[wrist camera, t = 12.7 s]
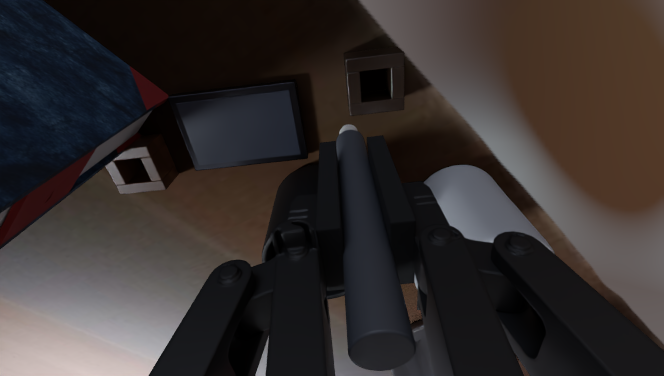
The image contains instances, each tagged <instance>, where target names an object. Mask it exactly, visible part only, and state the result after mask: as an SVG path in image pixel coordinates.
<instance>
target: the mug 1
mask: <svg viewBox="0 0 664 376" xmlns="http://www.w3.org/2000/svg"><path fill="white" fill-rule="evenodd" d="M318 171H319V164H318V165H310V166H305V167H303V168H300V169H298V170H296V171H294V172H293V173H291V174H290V175H288V176H287V177H286V178H285V179H284V180H283V182H282V183H281V185H280V186H279V188H278V191H277V194H276V198H275V202H274V206H273V210H272V214H271V218H270V222H269V226H268V230H267V235H266V239H265V243H264V247H263V251H262V263H264V262H267V261H269V260H271V259H272V258H274V257H275V256H276V253H275V250H274V246H273V243H272V240H271V236H270V234H271V232H272V230H273V229H274V228H275V227H276V226H277V225H278V224H279V223H281V222H283V221H286V220H288V215H289V209H290V204H291V202H292V201H293V200H294V198H295V197H296V196H299V195H308V194H317V192H318ZM326 295H327V299H332V298H337V297H341V296H344V295H345V289H343V290H332V291H327V287H326Z"/></svg>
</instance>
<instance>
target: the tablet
mask: <svg viewBox="0 0 664 376" xmlns="http://www.w3.org/2000/svg"><path fill="white" fill-rule="evenodd" d="M168 100H169V103H170V105H171V108H172V111H173V113H174V116H175V118H176V121H177V123H178V126H179V129H180V131H181V134H182V136H183V139H184V141H185V144H186V147H187V149H188V152H189V154H190V157H191V159H192V162H193V165H194V167H195V170H196V171H198V170H207V169H216V168H225V167H234V166H243V165H252V164H262V163H271V162H280V161H289V160H298V159H307V158H308V150H307V144H306V138H305V132H304V126H303V120H302V114H301V109H300V103H299V97H298V91H297V85H296V80H295V79H293V80H285V81H277V82H268V83H260V84H252V85H244V86H236V87H227V88H219V89H211V90H203V91H195V92H186V93H178V94H172V95H170V96H169V97H168Z"/></svg>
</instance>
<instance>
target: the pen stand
mask: <svg viewBox="0 0 664 376" xmlns="http://www.w3.org/2000/svg"><path fill="white" fill-rule="evenodd" d="M137 158H141V160H142V162H143V164H144V167H145V169H142V168H141V166H140V164H139V162H138V160H137ZM105 167H106V168H107V170H108V172H109V174H110V176H111V177H112V179H113V181H114V183H115V185H116V187H117V188H118V190H119V192H120V194H128V193H138V192H147V191H156V190H166V189H167V188H168V186H169V185H170V184H171V183H172V181H173V180H174V179H175V178H176V177H177V175H178V174H179V173H178V171H177V169H176V166H175V164H174V162H173V160H172V157H171V155H170V153H169V150H168V148H167V146H166V144H165V141H164V138H163V136H162V134H153V135H144V136H141V137H139V138H138V139H137V140H135V141H134V142H133V143H132V144H130V145H129V146H128V147H126V148H125V149H124V151H123V152H122V153H121V154H120V155H119V156H118V157H116V158H115V159H114V160H113V161H111V162H110V163H109V164H108V165H106V166H105Z"/></svg>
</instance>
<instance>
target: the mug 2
mask: <svg viewBox="0 0 664 376" xmlns="http://www.w3.org/2000/svg"><path fill="white" fill-rule="evenodd" d="M424 184H426V185H427V186H429V187H430V189H431V190H432V192H433V194H434V197H435V198H436V200H437V203H438V204H439V206H440V208H441V210H442V211H443V213H444V215H445V217H446V219H447V221H448V223H449V225H450V226H453V227H454V228H456V229H458V230H459V231H460V232H461V233H462V234H463V236H464V237H465V238H467V239H471V240H476V241H483V242H491V243H493V241H494V238H495V237H496V236H497V235H498V234H501V233H503V232H510V231H515V232H521V233H525V234H528V235H530V236H533V237H534V238H536V239H537V240H539V241H540V242H542V243H543V244H544V245H545V246H546V247H547V248H548V249H549V250H551V251H552V252H553V253H554V251H553V249H552V248H551V246H550V245H549V244H548V242H547V241H546V240H545V239H544V238H543V237H542V235H541V234H540V233H539V232H538V231H537V230H536V229H535V227H534V226H533V225H532V224H531V223H530V222H529V221H528V219H527V218H526V217H525V216H524V215H523V214H522V213H521V211H520V210H519V209H518V208H517V207H516V206H515V205H514V203H513V202H512V201H511V200H510V199H509V198H508V197H507V195H506V194H505V193H504V192H503V191H502V190H501V188H500V187H499V186H498V185H497V183H496V182H495V181H494V180H493V178H492V177H491V176H490V175H489V174H487V173H486V172H485V171H483V170H482V169H480V168H477V167H474V166H470V165H455V166H450V167H447V168H444V169H442V170H439V171H437V172H436V173H434V174H433V175H431V176H430V177H429V178H428V179H427V180H425V182H424ZM554 254H555V253H554ZM414 282H415V285H416V287H417V289H418V282H417V279H416V276H414Z"/></svg>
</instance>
